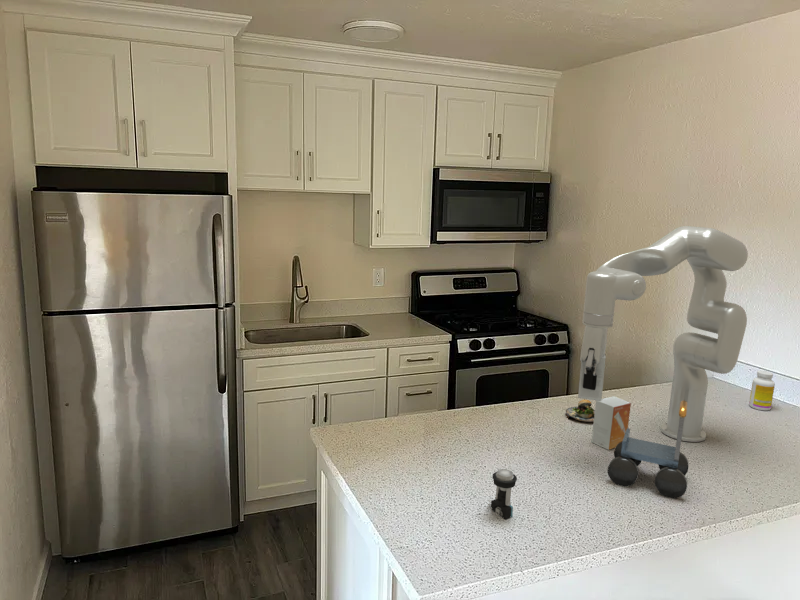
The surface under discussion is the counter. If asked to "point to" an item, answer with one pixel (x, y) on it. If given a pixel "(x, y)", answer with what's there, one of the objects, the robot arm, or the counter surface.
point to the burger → (582, 411)
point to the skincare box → (597, 392)
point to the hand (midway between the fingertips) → (591, 385)
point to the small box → (610, 422)
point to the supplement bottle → (762, 391)
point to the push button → (503, 493)
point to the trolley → (652, 461)
